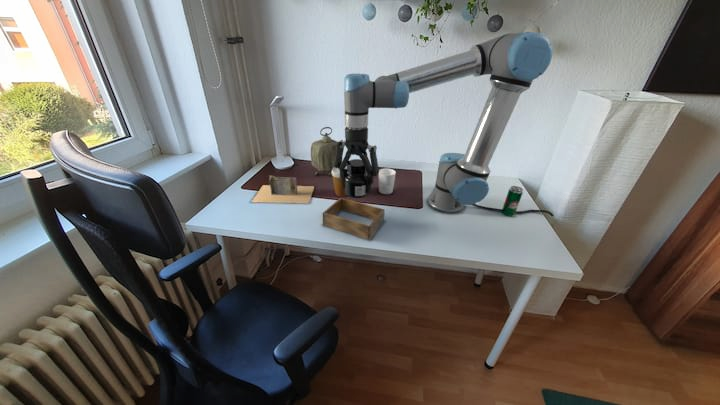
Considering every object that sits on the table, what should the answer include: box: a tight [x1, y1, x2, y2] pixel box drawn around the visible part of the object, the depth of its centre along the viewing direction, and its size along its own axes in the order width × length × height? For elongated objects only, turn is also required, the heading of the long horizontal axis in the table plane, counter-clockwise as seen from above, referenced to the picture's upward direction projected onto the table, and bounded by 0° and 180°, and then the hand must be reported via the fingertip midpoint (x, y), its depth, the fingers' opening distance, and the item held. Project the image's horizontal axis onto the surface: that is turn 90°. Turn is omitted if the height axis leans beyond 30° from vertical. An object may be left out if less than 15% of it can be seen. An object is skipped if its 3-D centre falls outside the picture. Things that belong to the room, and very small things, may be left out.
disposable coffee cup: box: [330, 165, 348, 198], centre depth 123 cm, size 10×10×12 cm
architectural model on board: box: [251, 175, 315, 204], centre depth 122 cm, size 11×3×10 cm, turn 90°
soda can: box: [501, 185, 524, 217], centre depth 111 cm, size 5×5×12 cm
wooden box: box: [322, 197, 385, 241], centre depth 104 cm, size 20×14×6 cm
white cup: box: [377, 167, 397, 195], centre depth 127 cm, size 8×8×10 cm
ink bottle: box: [344, 158, 369, 199], centre depth 97 cm, size 10×9×12 cm
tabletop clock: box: [310, 126, 343, 177], centre depth 138 cm, size 14×9×25 cm, turn 130°
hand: (356, 188), depth 99 cm, fingers closed on ink bottle, 9 cm apart
